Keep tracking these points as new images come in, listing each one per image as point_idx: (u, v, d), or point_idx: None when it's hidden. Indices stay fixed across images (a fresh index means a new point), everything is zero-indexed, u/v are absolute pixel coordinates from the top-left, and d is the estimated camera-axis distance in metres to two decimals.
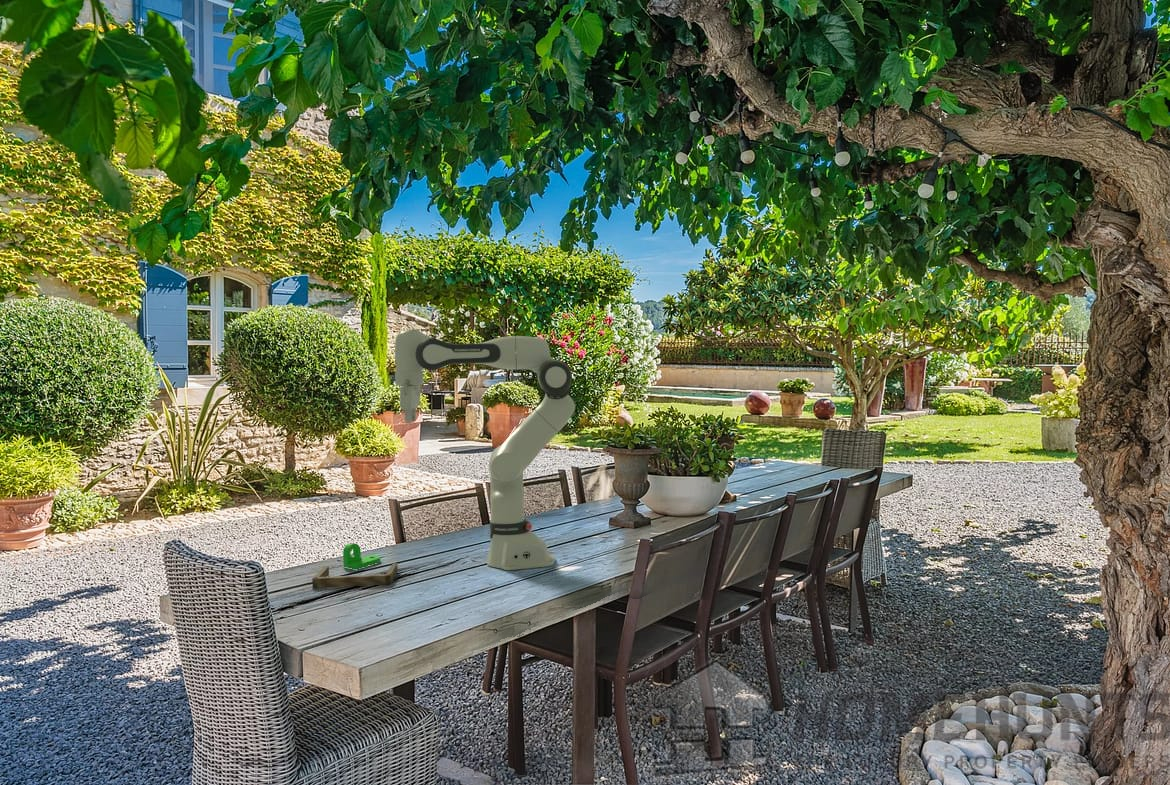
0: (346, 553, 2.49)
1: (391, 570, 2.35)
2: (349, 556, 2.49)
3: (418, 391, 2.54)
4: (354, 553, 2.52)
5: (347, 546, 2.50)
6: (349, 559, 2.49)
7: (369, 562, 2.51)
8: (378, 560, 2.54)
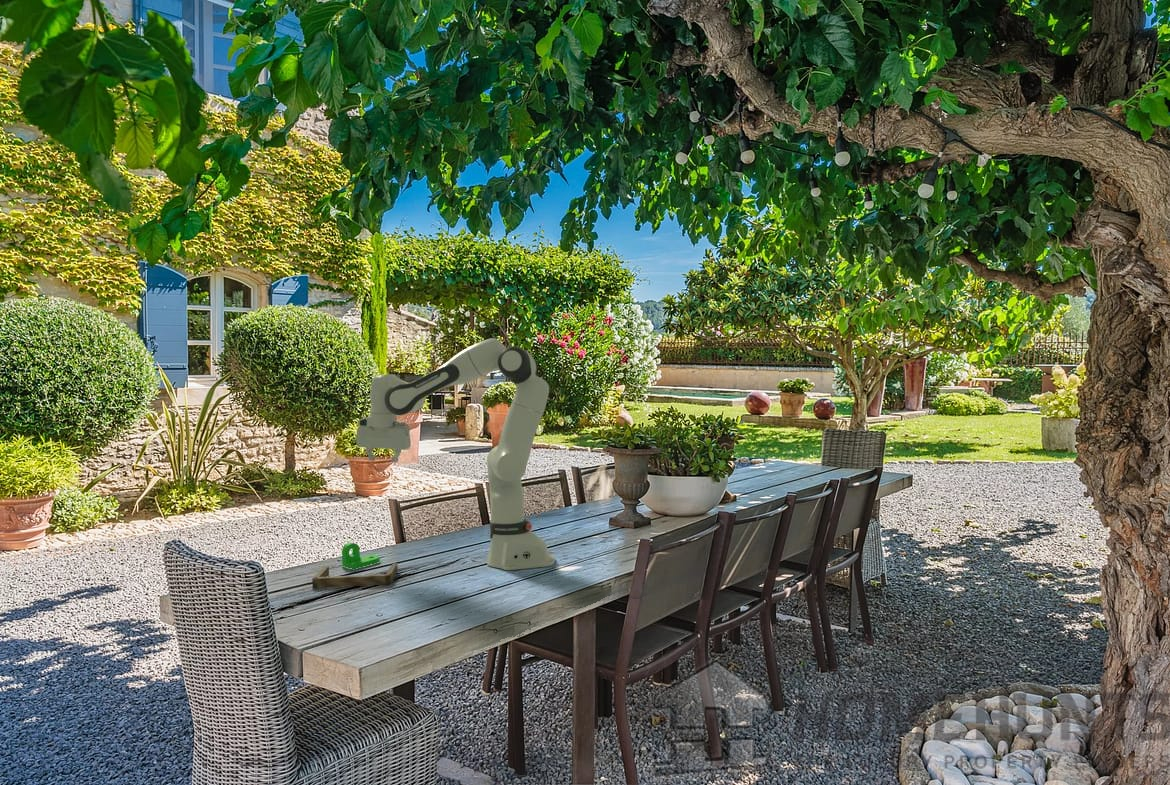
0: (345, 552, 2.49)
1: (391, 570, 2.35)
2: (348, 556, 2.50)
3: None
4: (353, 553, 2.53)
5: (346, 546, 2.50)
6: (347, 559, 2.50)
7: (368, 562, 2.51)
8: (377, 560, 2.54)
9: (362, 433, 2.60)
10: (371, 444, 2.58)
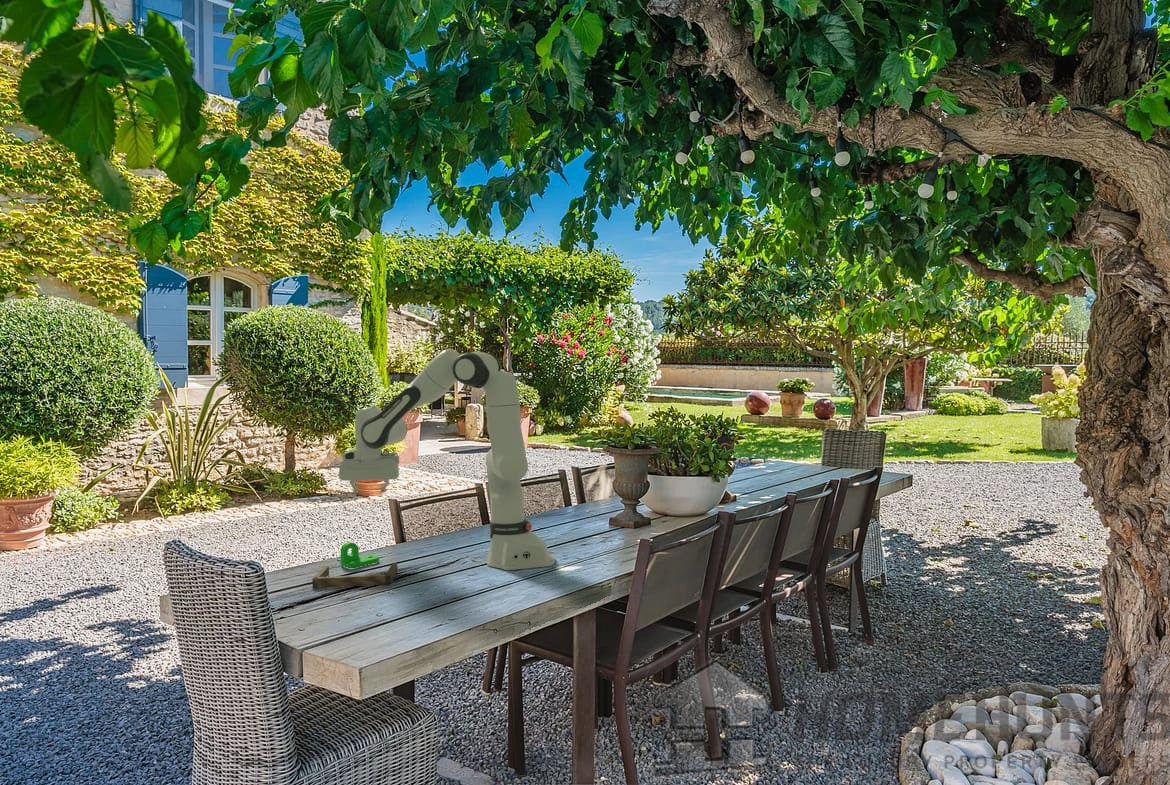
0: (343, 552, 2.50)
1: (391, 570, 2.35)
2: (346, 555, 2.50)
3: None
4: (352, 552, 2.53)
5: (344, 545, 2.51)
6: (346, 558, 2.50)
7: (366, 562, 2.51)
8: (376, 560, 2.55)
9: (346, 466, 2.62)
10: (358, 476, 2.62)
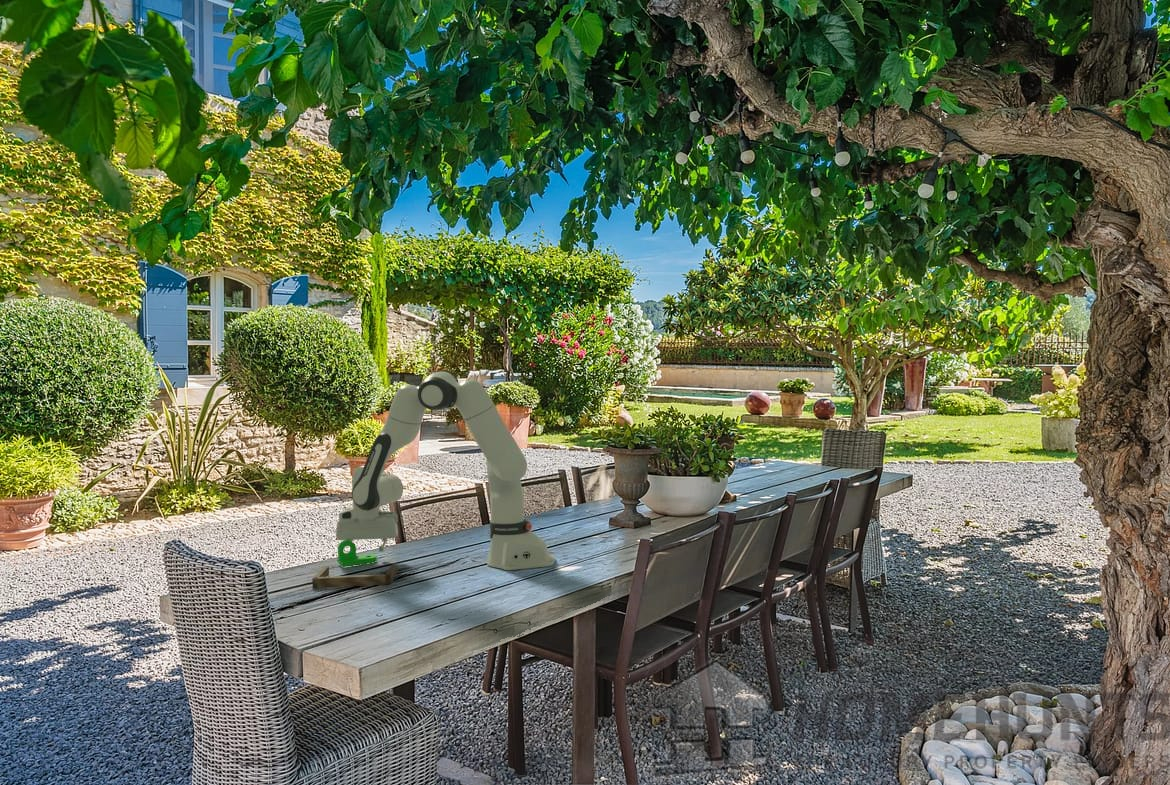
0: (339, 550, 2.53)
1: (391, 570, 2.35)
2: (342, 553, 2.53)
3: None
4: (350, 550, 2.56)
5: (341, 543, 2.54)
6: (341, 556, 2.53)
7: (360, 561, 2.52)
8: (371, 560, 2.54)
9: (343, 526, 2.55)
10: (355, 536, 2.56)
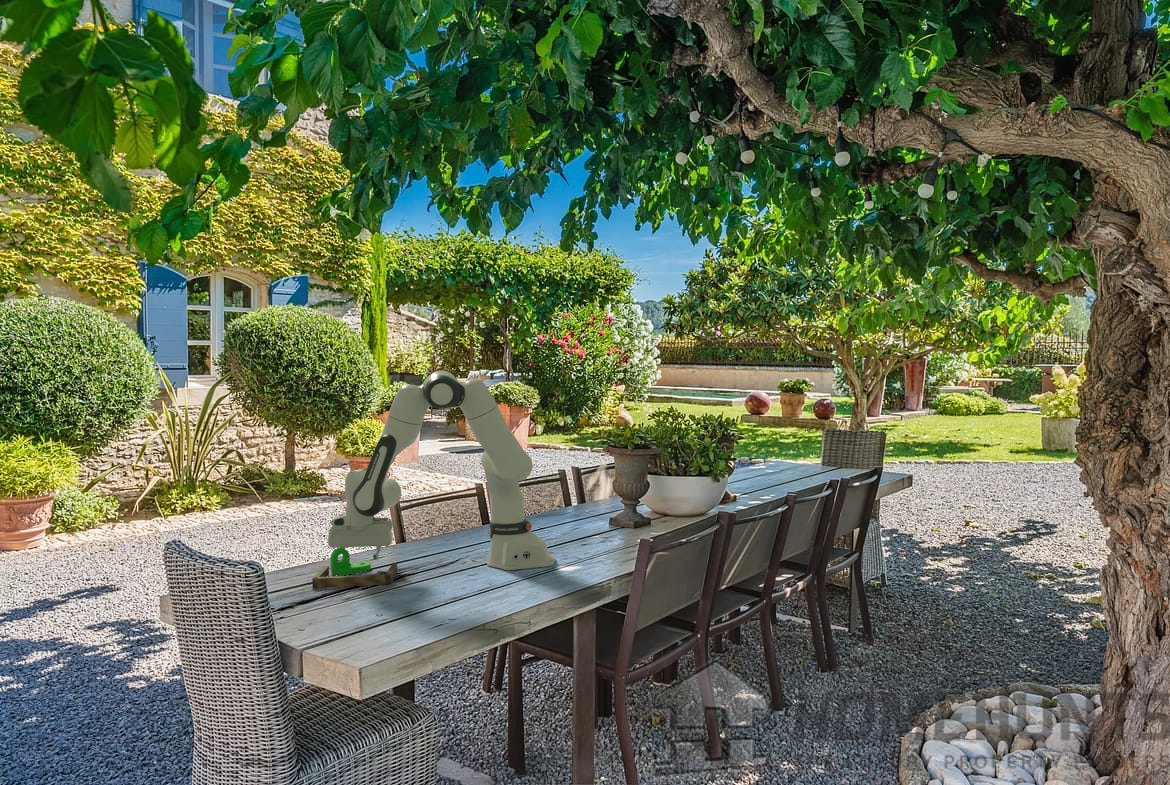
0: (333, 558, 2.41)
1: (391, 570, 2.35)
2: (336, 561, 2.42)
3: None
4: (343, 558, 2.45)
5: (334, 551, 2.43)
6: (335, 565, 2.42)
7: (356, 569, 2.43)
8: (367, 567, 2.45)
9: (336, 533, 2.45)
10: (348, 543, 2.45)
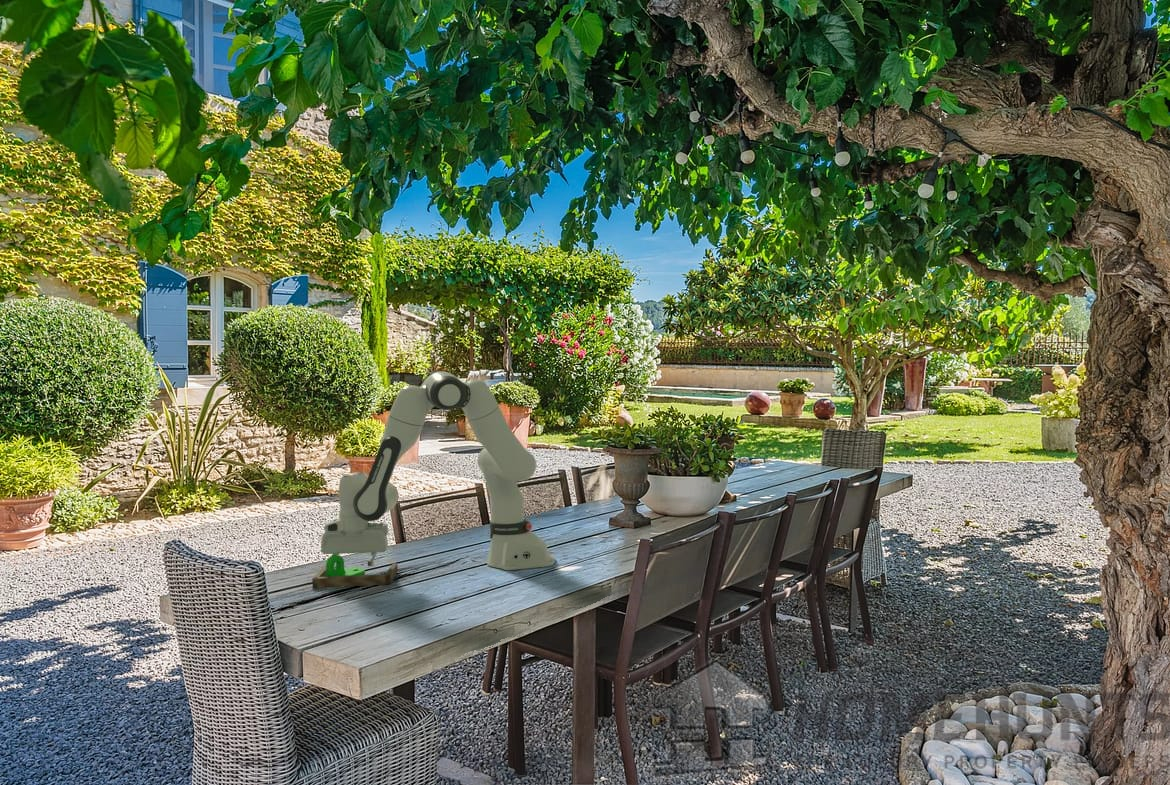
0: (329, 566, 2.33)
1: (391, 570, 2.35)
2: (333, 569, 2.33)
3: None
4: (337, 566, 2.36)
5: (330, 559, 2.34)
6: (332, 573, 2.33)
7: (354, 575, 2.36)
8: (363, 573, 2.39)
9: (329, 539, 2.37)
10: (342, 549, 2.37)
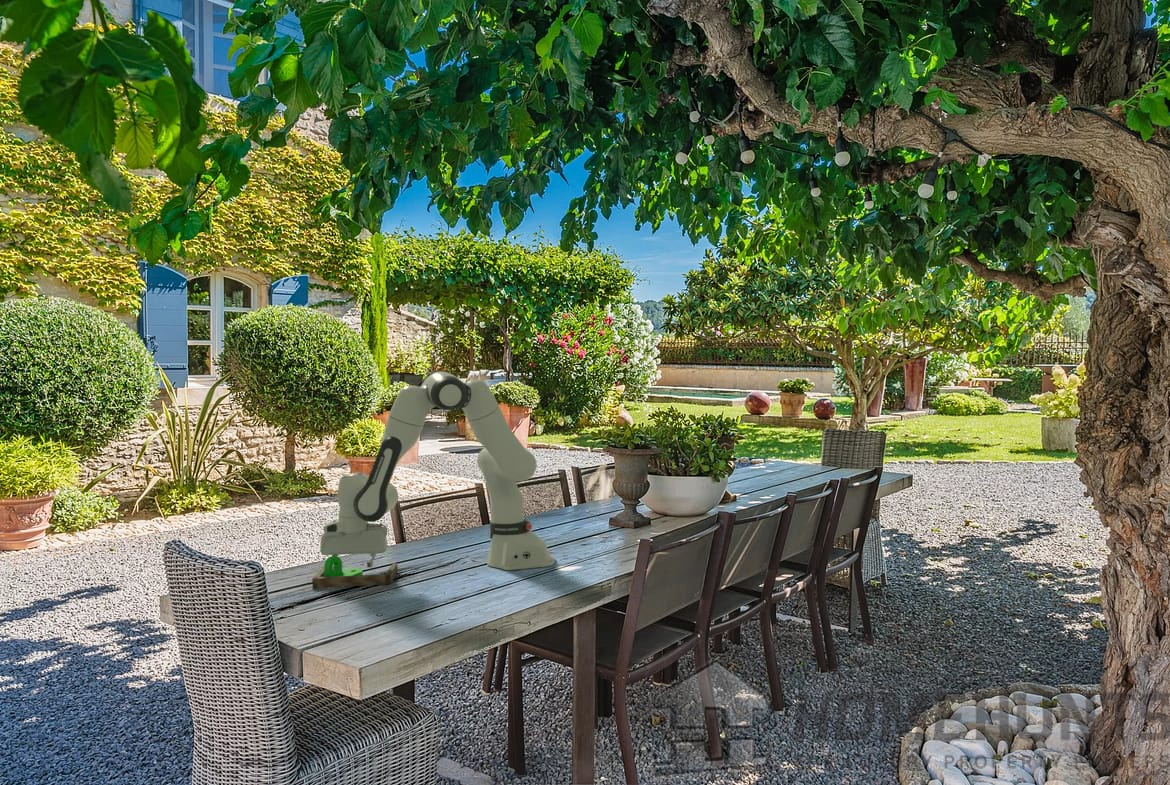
0: (328, 567, 2.31)
1: (391, 570, 2.35)
2: (331, 570, 2.32)
3: None
4: (335, 567, 2.35)
5: (329, 560, 2.32)
6: (331, 574, 2.32)
7: None
8: (361, 573, 2.39)
9: (328, 540, 2.36)
10: (341, 550, 2.36)
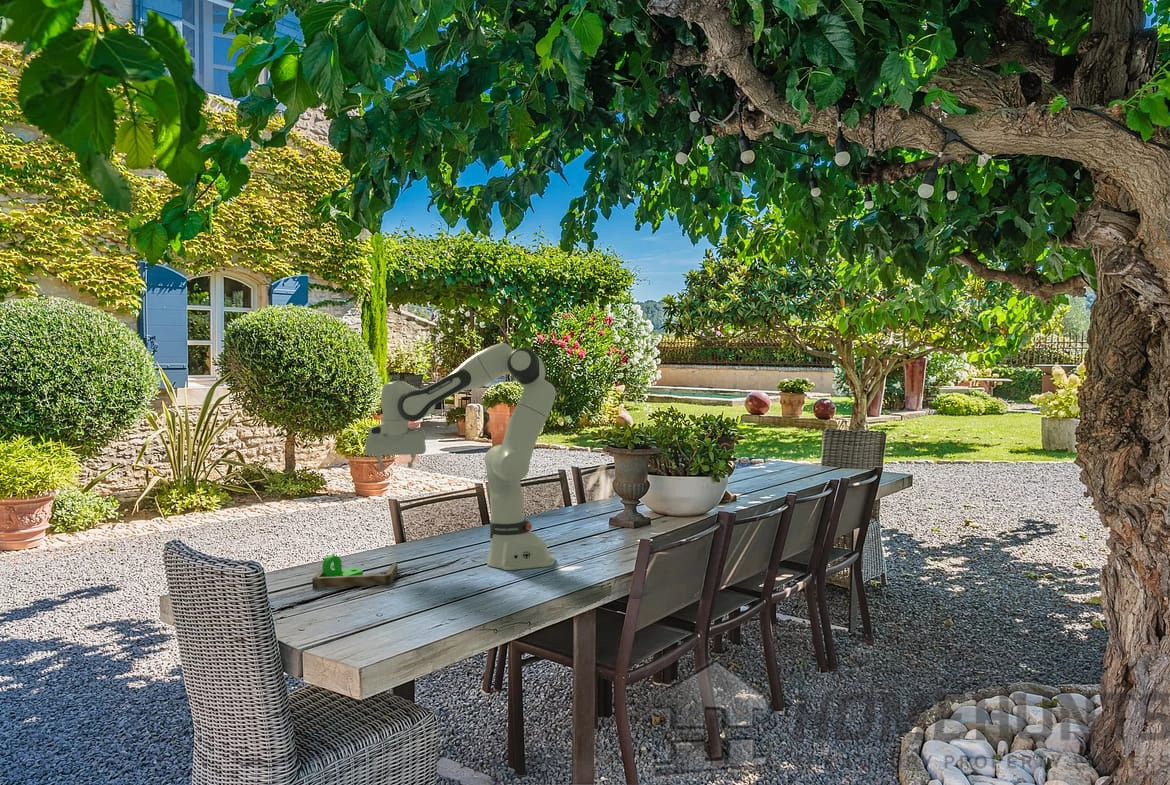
0: (325, 566, 2.33)
1: (391, 570, 2.35)
2: (329, 569, 2.33)
3: None
4: (335, 566, 2.37)
5: (327, 559, 2.34)
6: (328, 573, 2.33)
7: None
8: (360, 573, 2.39)
9: (372, 441, 2.58)
10: (384, 451, 2.59)
